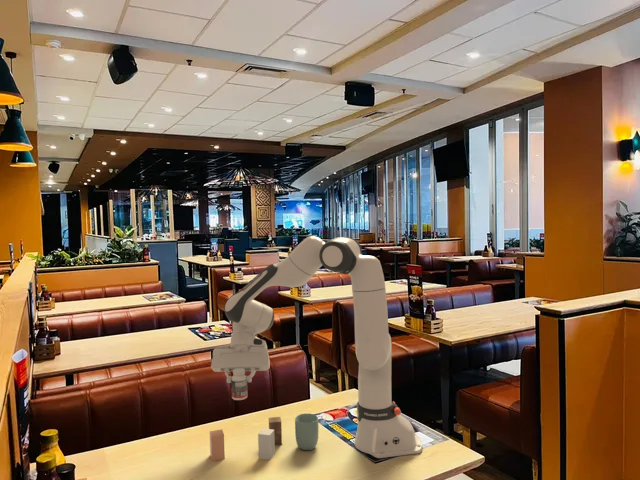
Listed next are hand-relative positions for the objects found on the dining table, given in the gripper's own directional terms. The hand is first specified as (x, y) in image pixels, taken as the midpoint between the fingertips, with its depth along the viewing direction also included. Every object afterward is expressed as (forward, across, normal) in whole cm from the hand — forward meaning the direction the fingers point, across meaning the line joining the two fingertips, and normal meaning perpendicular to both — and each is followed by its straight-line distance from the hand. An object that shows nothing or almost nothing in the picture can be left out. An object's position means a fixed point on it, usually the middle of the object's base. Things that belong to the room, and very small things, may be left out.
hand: (238, 381), depth 161 cm
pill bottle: (+4, 0, +5) cm, 6 cm away
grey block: (+22, +10, +8) cm, 25 cm away
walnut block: (+15, +12, +15) cm, 24 cm away
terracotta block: (+22, -6, +8) cm, 24 cm away
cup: (+18, +23, +12) cm, 32 cm away
